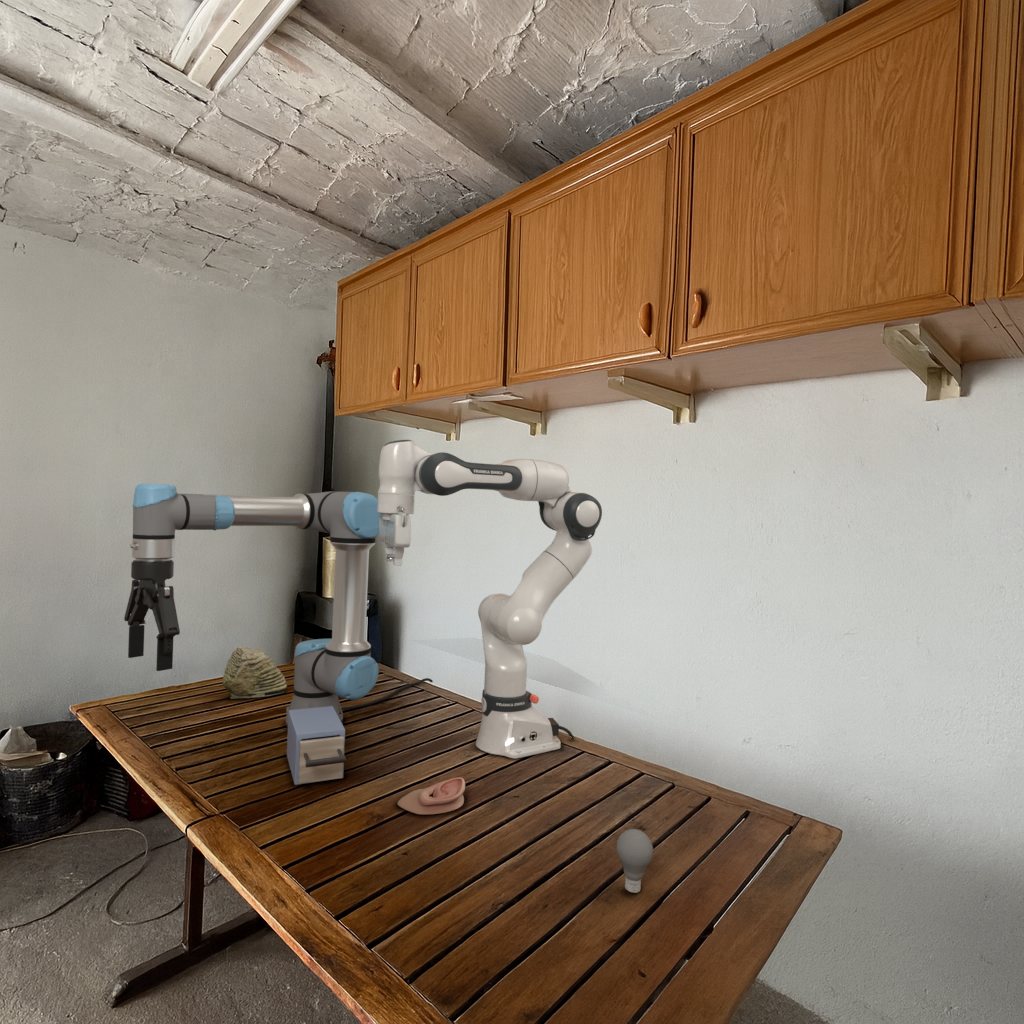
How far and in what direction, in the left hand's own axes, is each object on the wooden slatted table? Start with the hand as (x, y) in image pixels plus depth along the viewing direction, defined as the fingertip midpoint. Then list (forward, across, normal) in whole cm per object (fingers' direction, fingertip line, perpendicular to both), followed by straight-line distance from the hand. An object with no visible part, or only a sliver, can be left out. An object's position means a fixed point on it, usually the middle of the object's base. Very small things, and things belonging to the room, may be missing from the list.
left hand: (149, 663), depth 129 cm
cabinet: (+28, +11, +32) cm, 44 cm away
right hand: (-20, +19, +47) cm, 55 cm away
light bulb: (+28, +90, +40) cm, 102 cm away
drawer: (+27, +16, +30) cm, 43 cm away
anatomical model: (+28, +44, +39) cm, 65 cm away
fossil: (+28, -46, +50) cm, 74 cm away
